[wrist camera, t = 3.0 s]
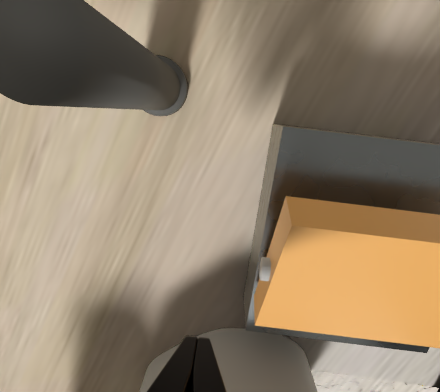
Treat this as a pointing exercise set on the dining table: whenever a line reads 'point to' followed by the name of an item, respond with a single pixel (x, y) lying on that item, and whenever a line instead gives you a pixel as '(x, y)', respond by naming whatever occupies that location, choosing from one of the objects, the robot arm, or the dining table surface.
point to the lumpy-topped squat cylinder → (250, 362)
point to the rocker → (352, 273)
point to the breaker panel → (339, 192)
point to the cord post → (81, 60)
